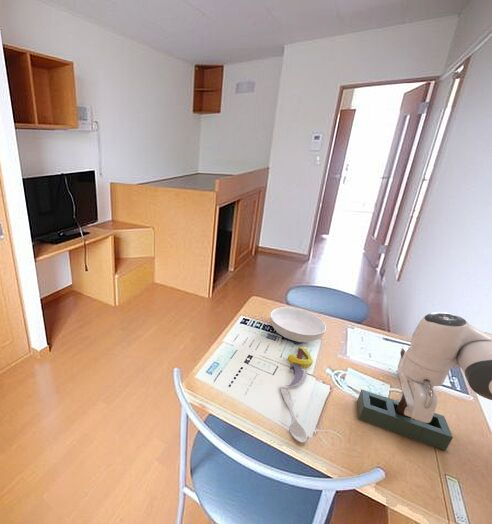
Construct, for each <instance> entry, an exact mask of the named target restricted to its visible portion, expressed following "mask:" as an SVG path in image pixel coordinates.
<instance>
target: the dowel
mask: <svg viewBox="0 0 492 524" xmlns="http://www.w3.org/2000/svg"><path fill="white" fill-rule="evenodd" d="M400 397H401V396H400ZM398 401H399V404H398V406H397V408H396V410H395V413H396V414H399V415H402V416H405V417H407V418H410V417H409V416H406V415H404V412H403V409H404V407H405V406H406V407H407V403H406V399H405V396H404V393H403V394H402V397H401V399H400V398H399V400H398Z"/></svg>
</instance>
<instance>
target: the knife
mask: <svg viewBox="0 0 492 524" xmlns="http://www.w3.org/2000/svg"><path fill="white" fill-rule="evenodd" d="M303 356H304V358H305V359H303ZM287 361H288V363H289V364H291V365H290V366H289V370H292V371H293V374H294V377H293V379H292V381H291V382H290V384H288V385H286V387H288V388H291V387H296V386H299V385H302V384H304V382H305V381H306V378H307V377H308V370H303V368H304V369H305V368H309V367H311V366H312V364H313V363H314V362H313V361H314V359H313V356H312V355H311V353H310V352H309V349H308V348H307V347H306V346H302V345H299V346H298V348H297V354H288V356H287Z"/></svg>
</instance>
